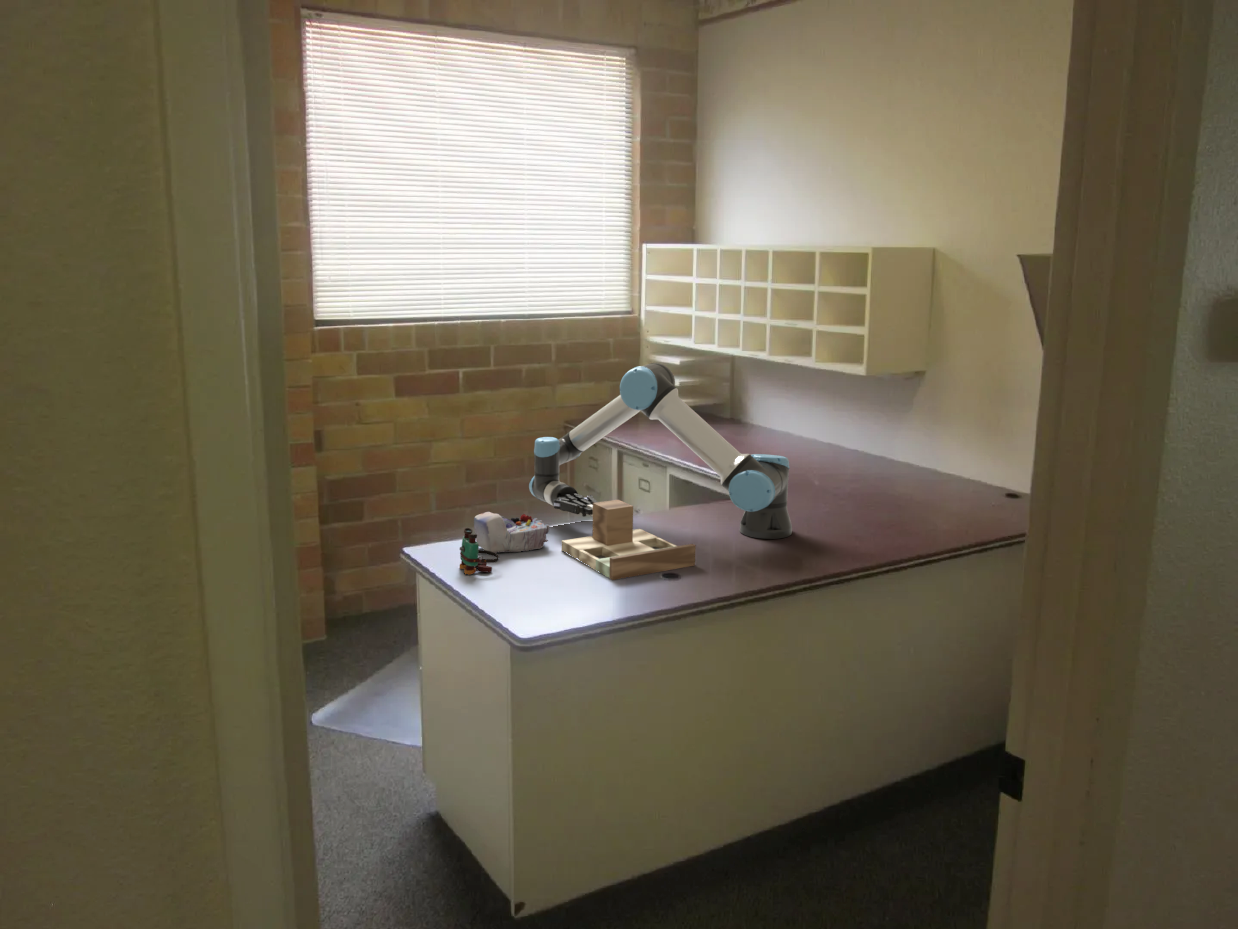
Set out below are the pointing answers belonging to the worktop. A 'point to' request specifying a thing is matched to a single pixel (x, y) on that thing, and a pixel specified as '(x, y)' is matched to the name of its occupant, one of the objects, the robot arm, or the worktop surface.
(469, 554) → the binoculars
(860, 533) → the worktop surface
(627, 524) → the walnut block
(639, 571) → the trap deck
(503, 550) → the cell model
